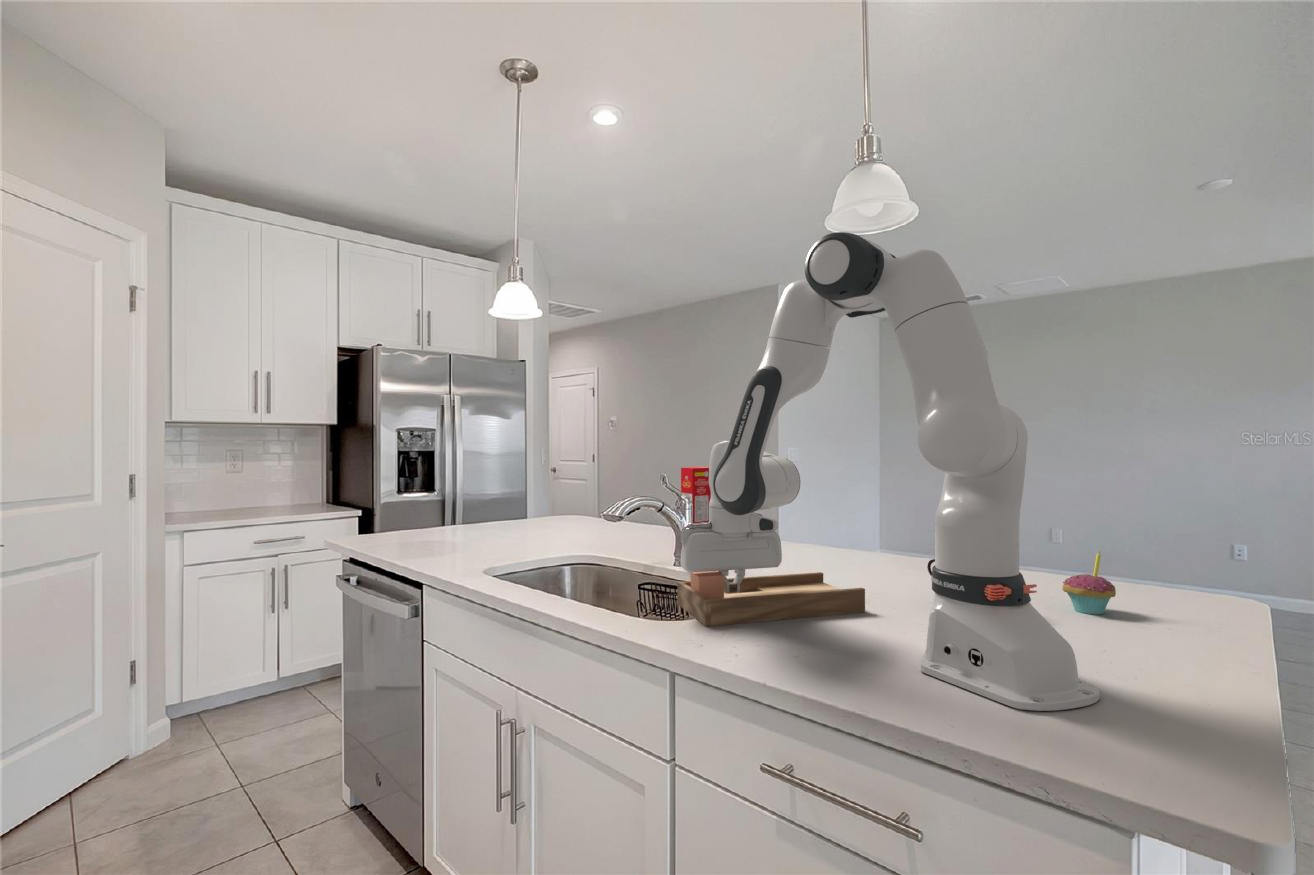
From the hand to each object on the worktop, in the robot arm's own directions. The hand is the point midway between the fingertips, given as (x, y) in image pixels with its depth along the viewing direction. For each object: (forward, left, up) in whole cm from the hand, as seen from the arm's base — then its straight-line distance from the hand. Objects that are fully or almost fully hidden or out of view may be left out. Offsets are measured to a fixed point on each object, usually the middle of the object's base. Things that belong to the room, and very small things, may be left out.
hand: (731, 592), depth 122 cm
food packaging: (+72, -22, -4) cm, 75 cm away
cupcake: (-20, -67, -4) cm, 70 cm away
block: (0, +5, -1) cm, 5 cm away
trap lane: (0, -9, -4) cm, 9 cm away
